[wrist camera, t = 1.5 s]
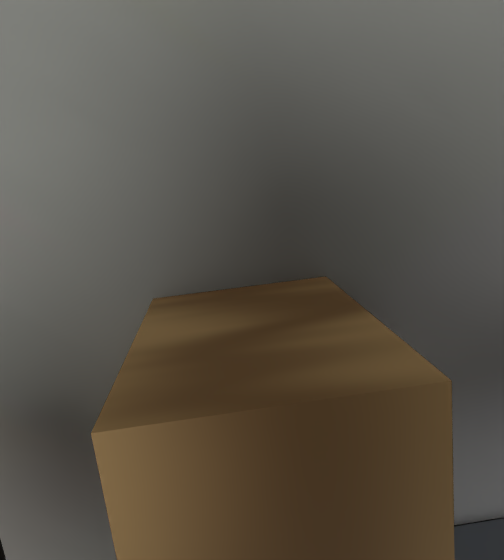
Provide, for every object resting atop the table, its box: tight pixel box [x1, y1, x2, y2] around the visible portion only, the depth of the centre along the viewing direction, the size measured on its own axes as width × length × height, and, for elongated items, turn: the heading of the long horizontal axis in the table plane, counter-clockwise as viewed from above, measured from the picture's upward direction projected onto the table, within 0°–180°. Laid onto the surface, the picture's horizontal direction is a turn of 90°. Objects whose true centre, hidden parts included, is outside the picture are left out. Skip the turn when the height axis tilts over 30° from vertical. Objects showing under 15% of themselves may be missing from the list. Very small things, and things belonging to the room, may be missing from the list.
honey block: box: [91, 277, 455, 560], centre depth 9 cm, size 4×4×6 cm
